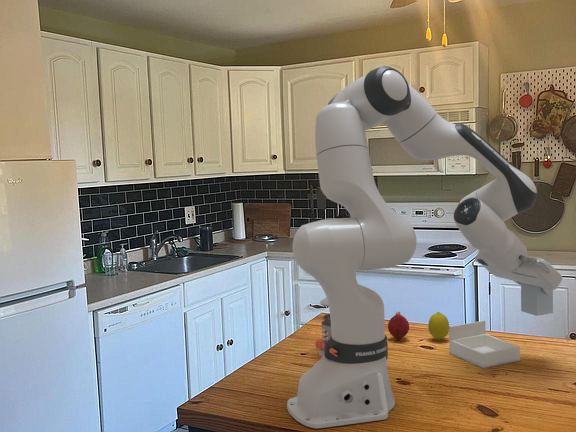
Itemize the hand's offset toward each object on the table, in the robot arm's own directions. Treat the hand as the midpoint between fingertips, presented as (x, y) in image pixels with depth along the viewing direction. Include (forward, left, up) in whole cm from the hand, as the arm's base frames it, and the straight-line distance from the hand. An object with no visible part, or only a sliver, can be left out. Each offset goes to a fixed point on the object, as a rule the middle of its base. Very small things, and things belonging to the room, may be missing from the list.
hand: (538, 289), depth 143 cm
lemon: (-11, +24, -18) cm, 32 cm away
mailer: (-10, +8, -17) cm, 21 cm away
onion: (-20, +30, -18) cm, 41 cm away
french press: (-40, +28, -18) cm, 52 cm away
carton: (-1, 0, -5) cm, 5 cm away
